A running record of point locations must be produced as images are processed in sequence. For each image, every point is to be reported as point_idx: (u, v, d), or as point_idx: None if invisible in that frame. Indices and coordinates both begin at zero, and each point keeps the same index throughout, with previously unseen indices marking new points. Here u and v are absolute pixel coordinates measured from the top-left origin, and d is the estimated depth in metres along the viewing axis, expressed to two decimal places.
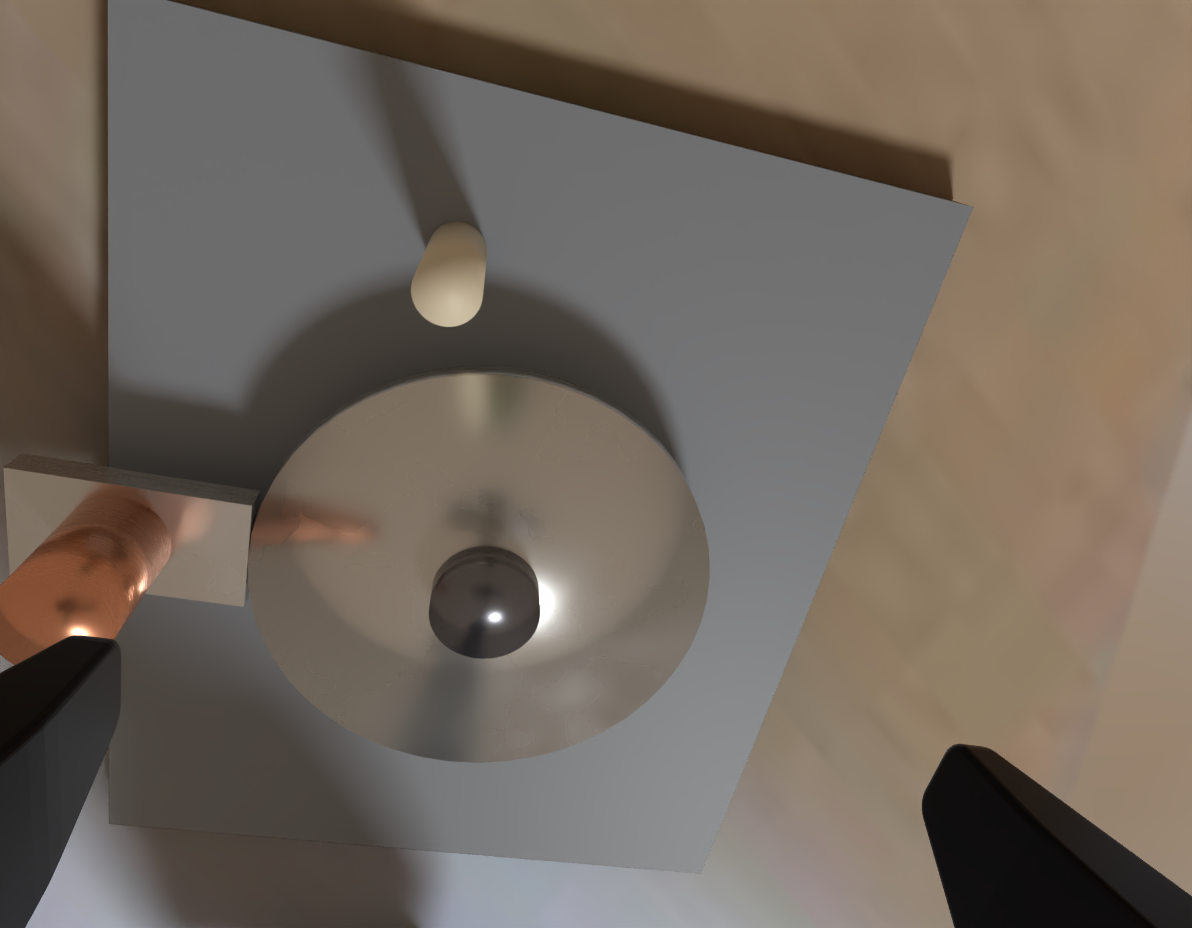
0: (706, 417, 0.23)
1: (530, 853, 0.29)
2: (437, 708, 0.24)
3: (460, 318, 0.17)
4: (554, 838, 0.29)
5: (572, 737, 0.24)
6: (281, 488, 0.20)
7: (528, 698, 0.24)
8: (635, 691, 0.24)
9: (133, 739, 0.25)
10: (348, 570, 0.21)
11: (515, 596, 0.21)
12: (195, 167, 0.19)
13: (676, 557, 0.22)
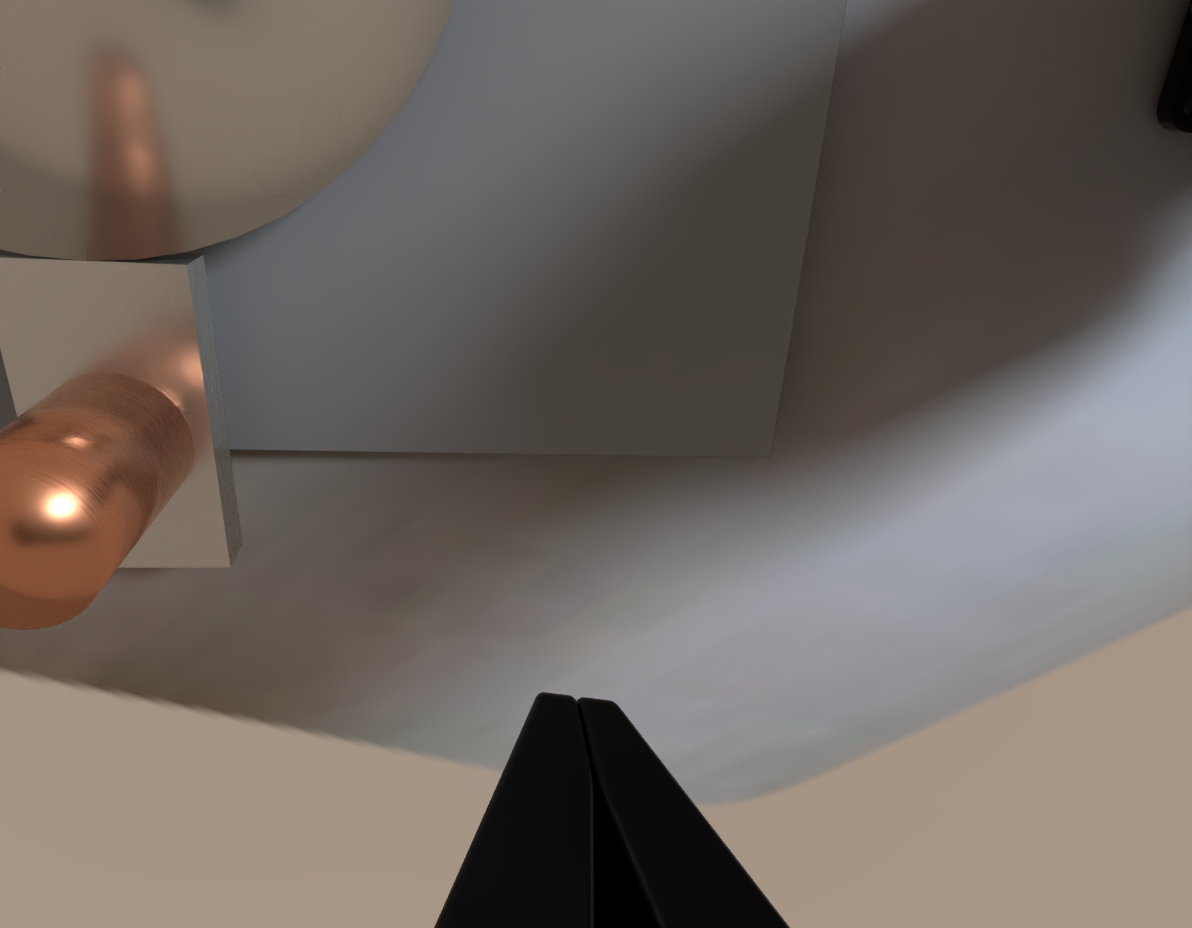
0: None
1: None
2: None
3: None
4: None
5: None
6: None
7: None
8: None
9: (597, 424, 0.17)
10: (45, 84, 0.12)
11: None
12: None
13: None
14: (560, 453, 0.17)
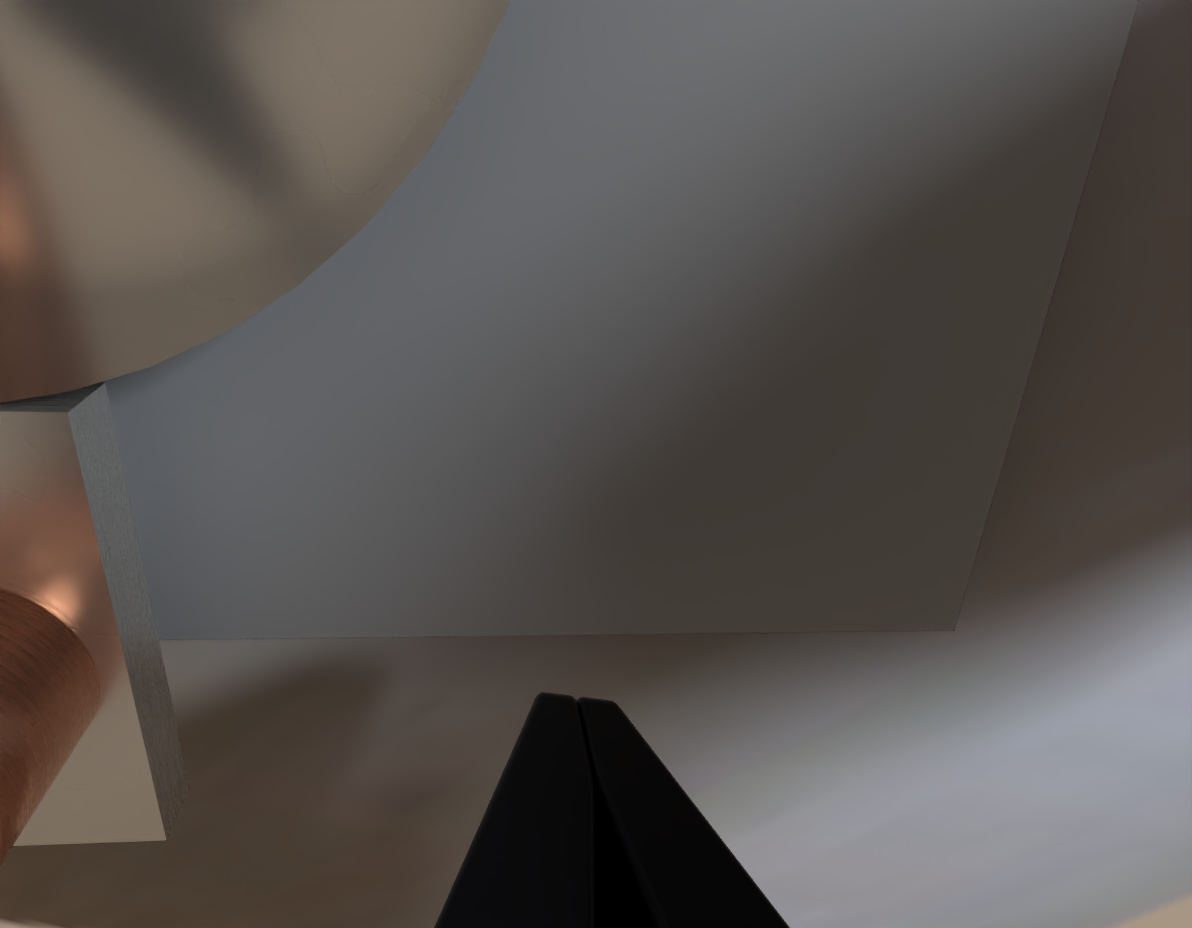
0: None
1: None
2: None
3: None
4: None
5: None
6: None
7: None
8: None
9: (711, 592, 0.11)
10: None
11: None
12: None
13: None
14: (654, 631, 0.12)
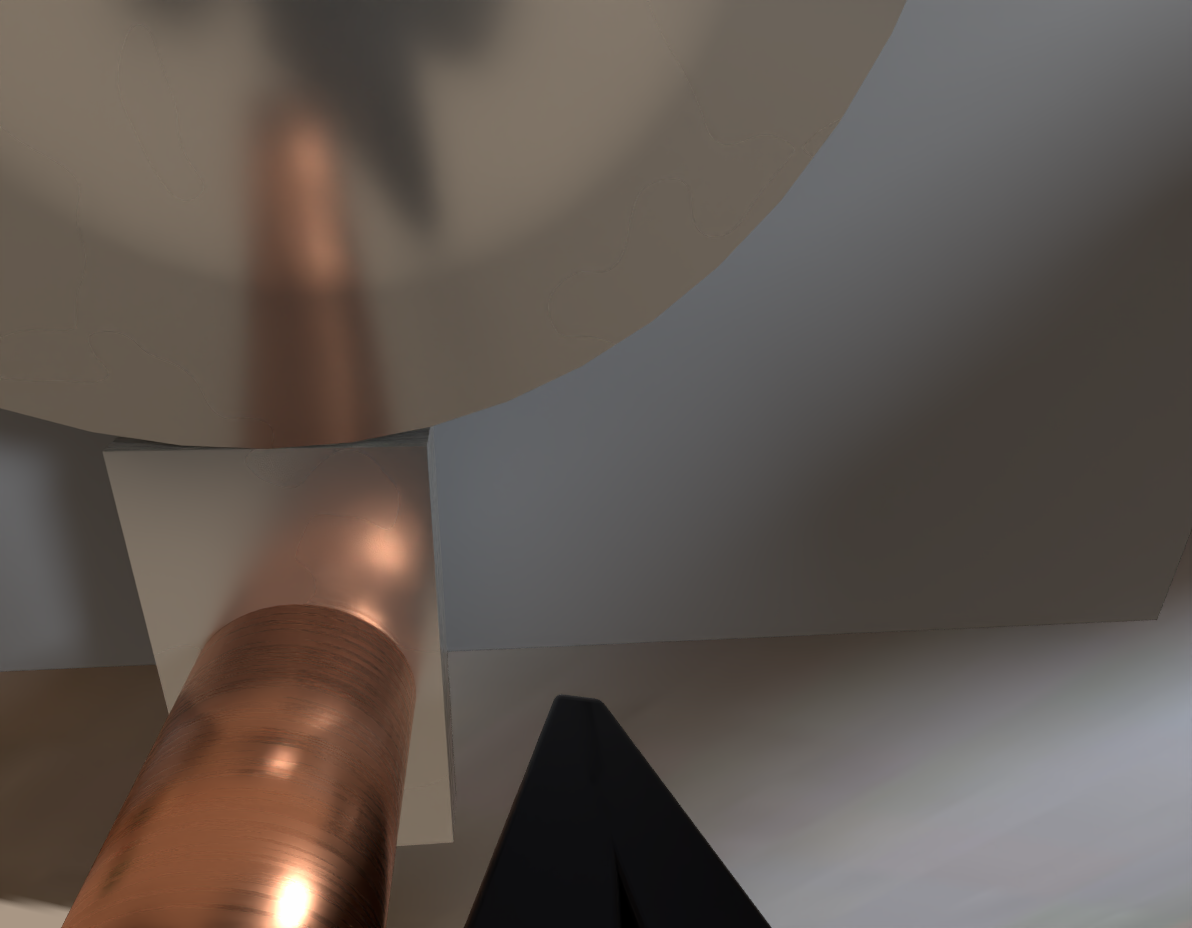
0: None
1: None
2: None
3: None
4: None
5: None
6: (14, 388, 0.08)
7: None
8: None
9: (934, 591, 0.12)
10: (220, 179, 0.07)
11: None
12: None
13: None
14: (875, 630, 0.12)
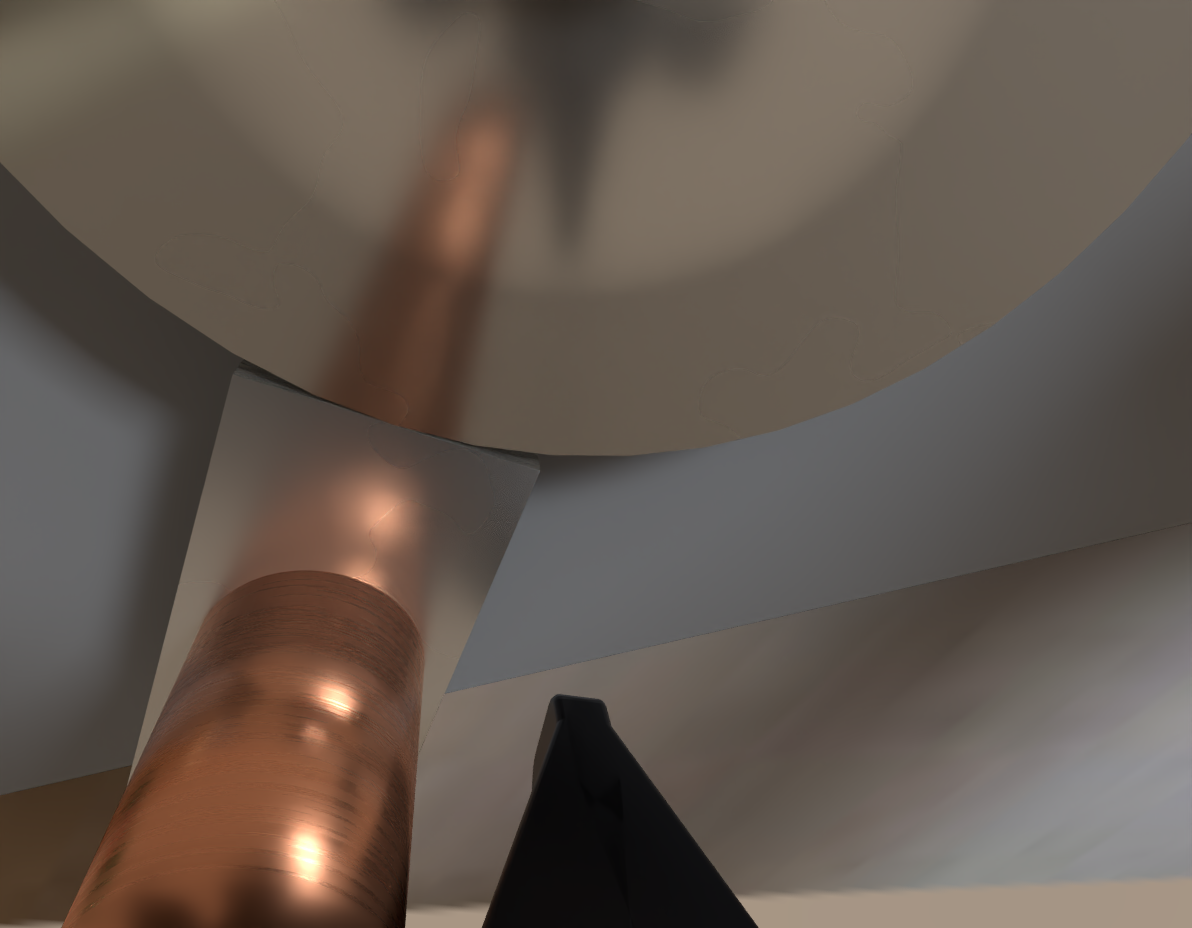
0: None
1: None
2: (1047, 33, 0.07)
3: None
4: None
5: None
6: (175, 285, 0.07)
7: None
8: None
9: None
10: (475, 173, 0.07)
11: None
12: (59, 670, 0.11)
13: None
14: None
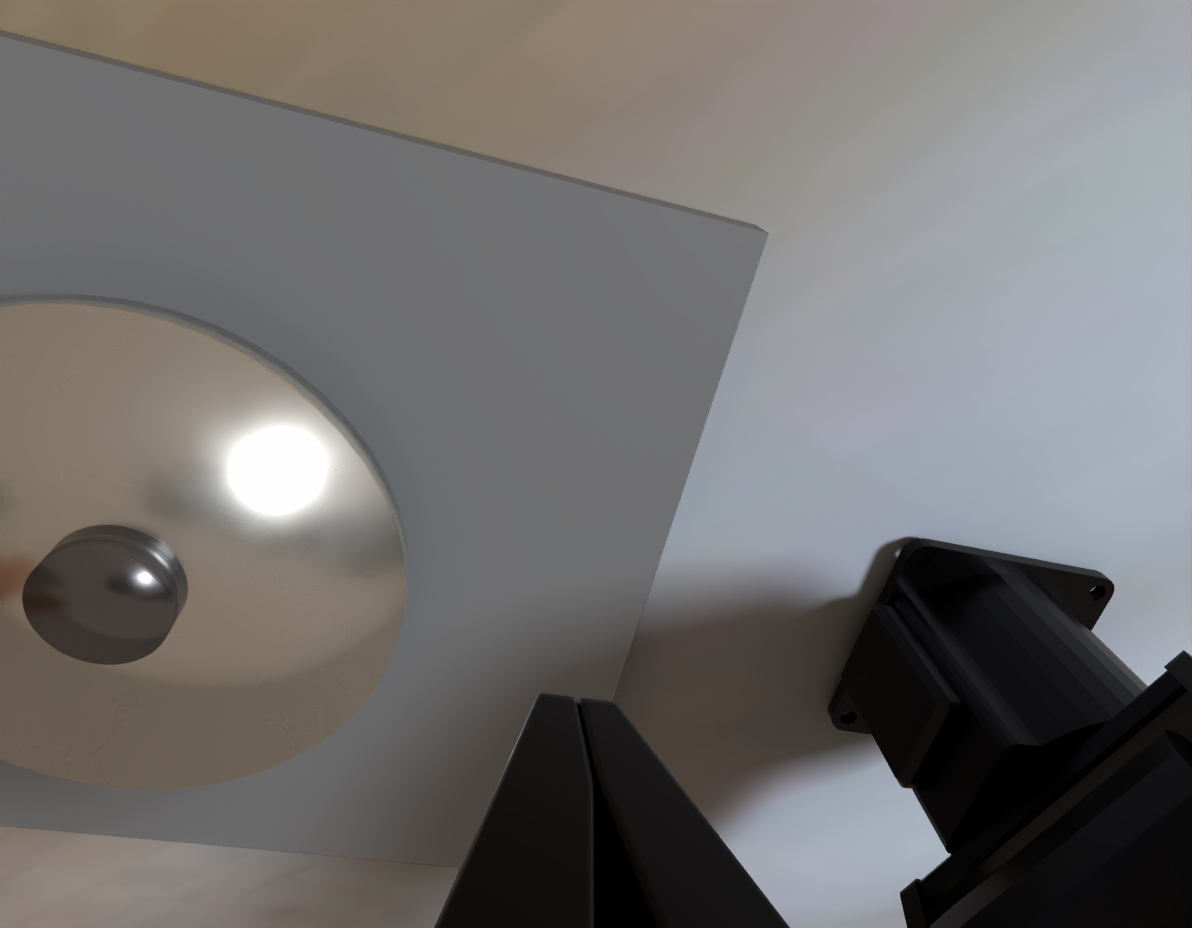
0: None
1: (671, 489, 0.20)
2: (189, 727, 0.20)
3: None
4: (646, 459, 0.20)
5: (358, 691, 0.20)
6: None
7: (271, 672, 0.19)
8: (381, 609, 0.19)
9: (438, 849, 0.25)
10: None
11: (110, 573, 0.17)
12: None
13: (284, 435, 0.17)
14: (410, 861, 0.25)
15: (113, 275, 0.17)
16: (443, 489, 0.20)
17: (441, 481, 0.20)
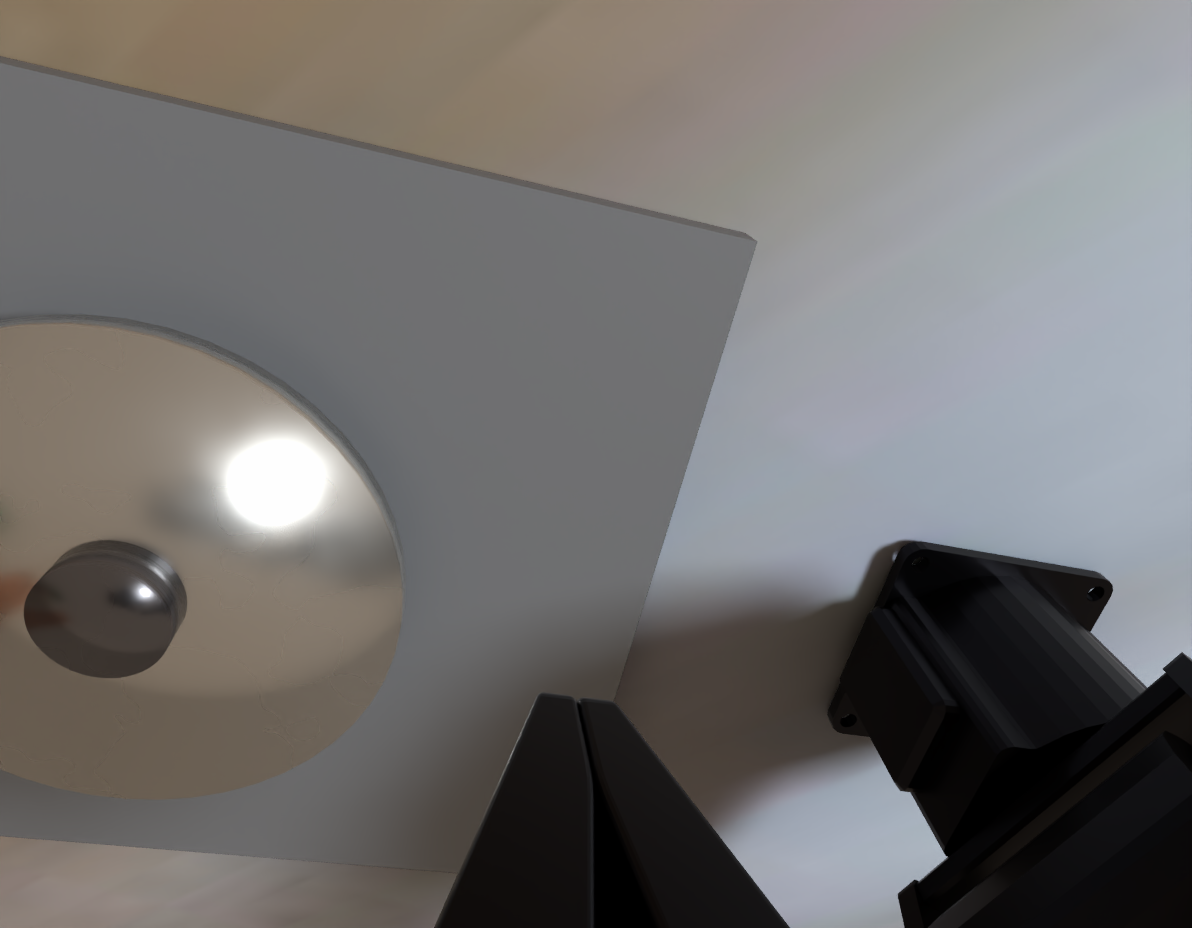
0: None
1: (665, 496, 0.20)
2: (192, 738, 0.20)
3: None
4: (640, 467, 0.20)
5: (357, 700, 0.20)
6: None
7: (271, 683, 0.19)
8: (378, 619, 0.19)
9: (442, 855, 0.25)
10: None
11: (110, 588, 0.17)
12: None
13: (279, 449, 0.17)
14: (414, 867, 0.25)
15: (109, 293, 0.17)
16: (439, 499, 0.20)
17: (437, 492, 0.20)
